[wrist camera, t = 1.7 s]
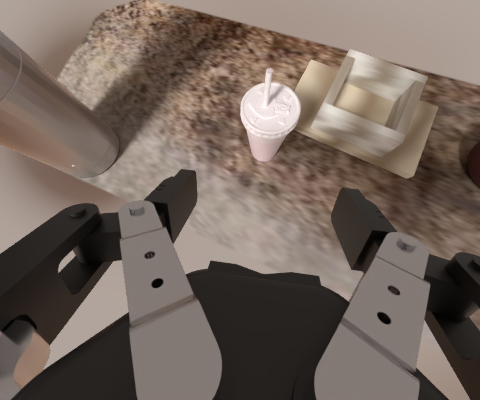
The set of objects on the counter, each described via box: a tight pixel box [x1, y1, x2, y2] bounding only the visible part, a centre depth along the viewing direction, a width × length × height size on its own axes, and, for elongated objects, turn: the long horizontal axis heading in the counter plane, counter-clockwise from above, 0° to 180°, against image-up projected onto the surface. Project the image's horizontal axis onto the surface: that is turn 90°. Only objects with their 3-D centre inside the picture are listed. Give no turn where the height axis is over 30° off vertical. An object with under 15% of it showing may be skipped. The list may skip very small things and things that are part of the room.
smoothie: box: [240, 68, 301, 161], centre depth 24 cm, size 6×6×14 cm
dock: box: [293, 49, 438, 179], centre depth 29 cm, size 20×12×5 cm, turn 62°
